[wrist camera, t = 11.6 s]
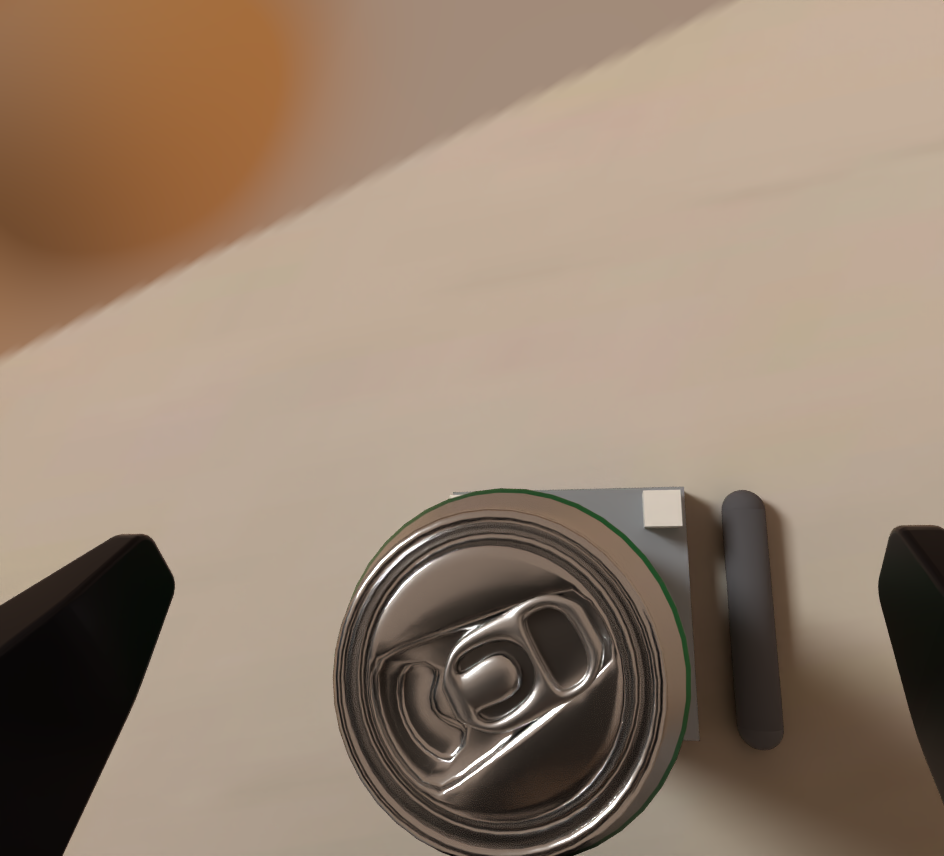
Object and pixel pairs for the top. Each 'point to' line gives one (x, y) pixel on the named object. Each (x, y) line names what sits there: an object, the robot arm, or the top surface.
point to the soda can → (511, 677)
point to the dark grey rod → (752, 621)
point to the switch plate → (651, 547)
